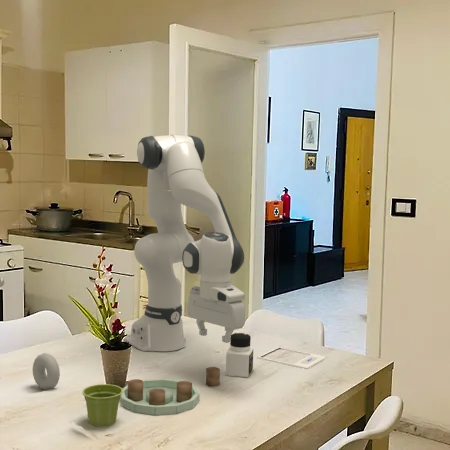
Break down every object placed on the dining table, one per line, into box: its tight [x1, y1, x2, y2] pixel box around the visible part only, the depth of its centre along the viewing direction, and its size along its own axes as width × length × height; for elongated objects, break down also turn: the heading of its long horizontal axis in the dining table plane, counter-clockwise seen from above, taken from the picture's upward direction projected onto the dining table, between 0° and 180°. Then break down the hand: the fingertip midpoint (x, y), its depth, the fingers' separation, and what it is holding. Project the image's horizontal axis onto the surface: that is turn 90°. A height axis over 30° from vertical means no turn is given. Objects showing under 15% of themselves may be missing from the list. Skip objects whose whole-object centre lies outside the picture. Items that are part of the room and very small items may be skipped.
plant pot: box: [81, 383, 123, 428], centre depth 154 cm, size 9×9×9 cm
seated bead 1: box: [127, 378, 143, 402], centre depth 169 cm, size 4×4×4 cm
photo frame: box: [256, 346, 328, 370], centre depth 212 cm, size 15×1×18 cm
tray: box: [119, 378, 200, 416], centre depth 169 cm, size 20×20×3 cm
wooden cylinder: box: [205, 366, 221, 388], centre depth 185 cm, size 4×4×4 cm
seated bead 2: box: [149, 389, 165, 406], centre depth 163 cm, size 4×4×4 cm
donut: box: [32, 352, 61, 391], centre depth 177 cm, size 10×3×10 cm, turn 50°
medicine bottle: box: [225, 332, 254, 378], centre depth 195 cm, size 7×7×12 cm
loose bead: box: [176, 380, 193, 403], centre depth 169 cm, size 4×4×4 cm
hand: (214, 338), depth 184 cm, fingers open, 8 cm apart
